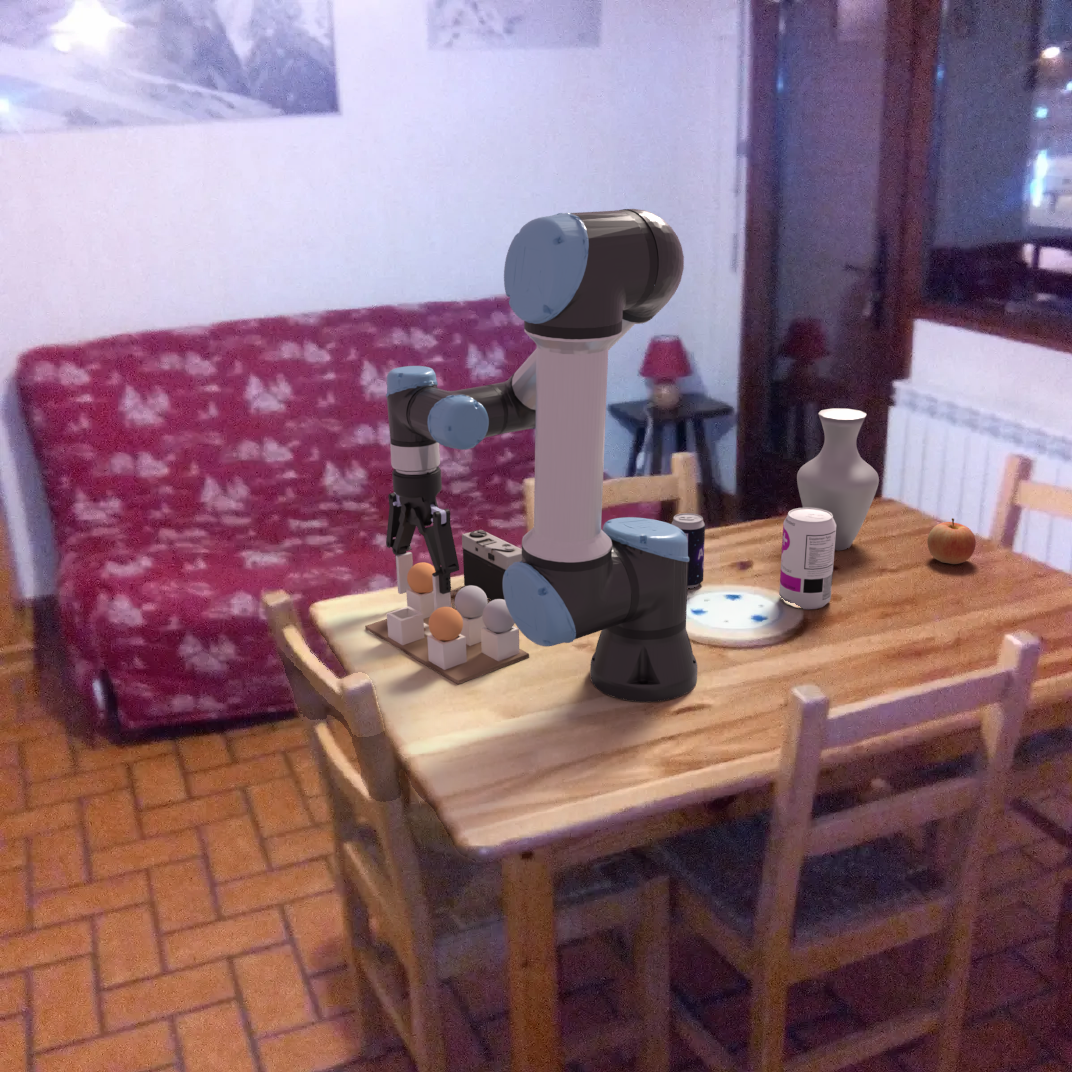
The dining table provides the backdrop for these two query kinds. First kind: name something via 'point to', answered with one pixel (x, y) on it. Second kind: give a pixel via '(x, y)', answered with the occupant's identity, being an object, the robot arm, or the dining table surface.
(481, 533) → the camera
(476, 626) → the tubes
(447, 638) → the orange ball
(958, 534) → the apple
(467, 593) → the grey ball
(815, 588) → the supplement can
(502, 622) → the grey ball
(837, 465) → the vase
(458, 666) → the rack board
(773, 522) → the dining table surface
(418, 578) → the orange ball
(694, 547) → the beverage can
